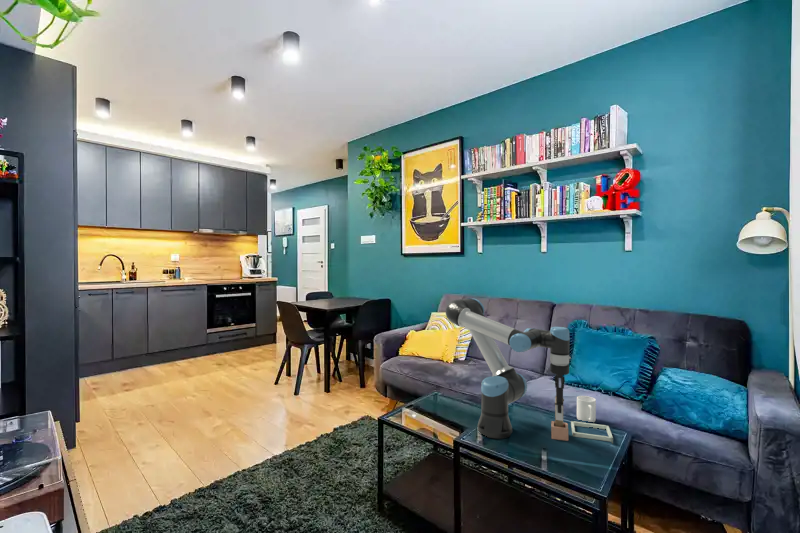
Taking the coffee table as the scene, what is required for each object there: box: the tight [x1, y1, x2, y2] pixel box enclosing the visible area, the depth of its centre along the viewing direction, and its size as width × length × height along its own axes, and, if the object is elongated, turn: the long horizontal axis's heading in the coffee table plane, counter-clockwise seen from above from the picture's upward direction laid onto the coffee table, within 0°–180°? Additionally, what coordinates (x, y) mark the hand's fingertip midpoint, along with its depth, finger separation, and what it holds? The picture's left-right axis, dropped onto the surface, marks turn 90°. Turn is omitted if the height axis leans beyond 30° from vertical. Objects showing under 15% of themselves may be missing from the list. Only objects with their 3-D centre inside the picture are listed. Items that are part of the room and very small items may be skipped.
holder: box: [550, 420, 569, 442], centre depth 170 cm, size 7×7×6 cm
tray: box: [570, 420, 614, 445], centre depth 174 cm, size 15×13×2 cm
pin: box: [554, 396, 564, 427], centre depth 171 cm, size 3×3×16 cm
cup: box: [576, 395, 597, 423], centre depth 189 cm, size 8×12×10 cm
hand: (559, 418), depth 171 cm, fingers closed on pin, 3 cm apart
